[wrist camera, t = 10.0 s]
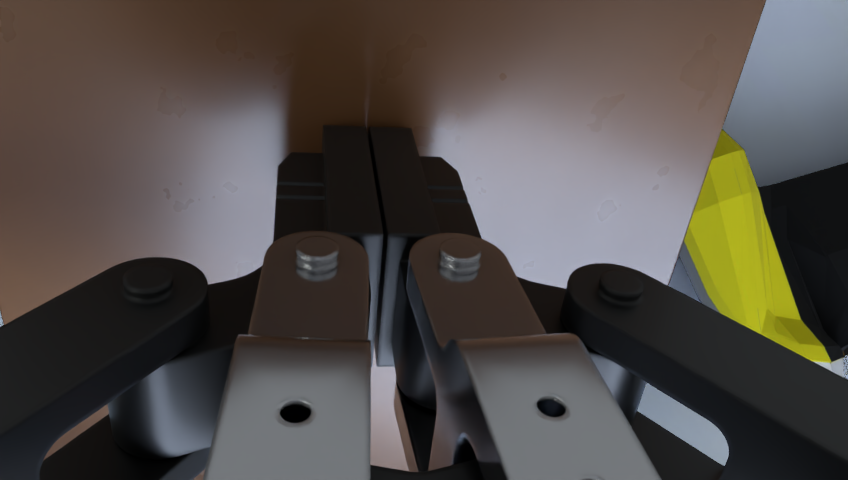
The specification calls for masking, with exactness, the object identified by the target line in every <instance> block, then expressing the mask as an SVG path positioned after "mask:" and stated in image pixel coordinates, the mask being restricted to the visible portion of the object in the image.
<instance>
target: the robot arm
mask: <svg viewBox="0 0 848 480" xmlns="http://www.w3.org/2000/svg"><path fill="white" fill-rule="evenodd" d="M374 348H375V357H376V365H377V367H395V372H396V384H395V393H394V403H393V405H394V412H395V416H396V420H397V424H398V428H399V432H400V437H401V441H402V445H403V449H404V453H405V457H406V462H407V466H408V470H409V471H403V470H398V469H392V468H386V467H380V466H374V465H370V447H371V367H372V364H373V352H374ZM646 382H647V383H649V384H650V385H652V386H654V387H655V388H657V389H658V390H660V391H662V392H663V393H665V394H667V395H668V396H670V397H672V398H673V399H675V400H676V401H678V402H680V403H681V404H683V405H685V406H686V407H688V408H689V409H691V410H693V411H694V412H696V413H698V414H699V415H701V416H703V417H704V418H706V419H707V420H709V421H710V422H712V423H713V424H714V425H715V426H717V427H718V428H719V430H720V431H721V432H722V433H723V435H724V436H725V438H726V440H727V443H728V446H729V457H728V460H727V462H726V465H725V466H723V465H721V464H719V463H717V462H716V461H714V460H713V459H711V458H710V457H708V456H707V455H705V454H703V453H702V452H700V451H699V450H697V449H696V448H694V447H692V446H691V445H689V444H688V443H686V442H685V441H683V440H682V439H680V438H678V437H677V436H675V435H674V434H672V433H671V432H669V431H668V430H666V429H664V428H663V427H661V426H660V425H658V424H657V423H655V422H653V421H652V420H650V419H649V418H647V417H646V416H644V415H643V414H641V413H639V412H638V411H637V409H638V406H639V403H640V400H641V397H642V394H643V391H644V388H645V385H646ZM107 404H108V410H109V414H108V415H106V416H105V417H104V418H102V419H101V420H99V421H98V422H97V423H95V424H94V425H92V426H91V427H90V428H88V429H87V430H85V431H84V432H83V433H81V434H80V435H78V436H77V437H76V438H74V439H73V440H71V441H70V442H69V443H67V444H66V445H64V446H63V447H62V448H60V449H59V450H57V451H56V452H55V453H53V454H52V455H50V456H49V457H48V458H46V459H45V460H44V458H45V456H46V454H47V452H48V451H49V449H50V448H51V447H52V446H53V444H54V443H55V442H56V441H57V440H58V439H59V438H60V437H62V436H63V435H64V434H65V433H67V432H68V431H70V430H71V429H72V428H74V427H75V426H77V425H78V424H80V423H81V422H82V421H84V420H85V419H87V418H88V417H90V416H91V415H92V414H94V413H95V412H97V411H98V410H100V409H101V408H102V407H104V406H105V405H107ZM204 469H205V472H204V476H203V480H848V380H847V379H845V378H843V377H841V376H840V375H838V374H836V373H834V372H832V371H830V370H828V369H826V368H824V367H822V366H820V365H819V364H817V363H815V362H813V361H811V360H809V359H807V358H805V357H803V356H801V355H799V354H797V353H796V352H794V351H792V350H790V349H788V348H786V347H784V346H782V345H780V344H778V343H776V342H775V341H773V340H771V339H769V338H767V337H765V336H763V335H761V334H759V333H757V332H755V331H753V330H752V329H750V328H748V327H746V326H744V325H742V324H740V323H738V322H736V321H734V320H732V319H731V318H729V317H727V316H725V315H723V314H721V313H719V312H717V311H715V310H713V309H711V308H709V307H708V306H706V305H704V304H702V303H700V302H698V301H696V300H694V299H692V298H690V297H688V296H687V295H685V294H683V293H681V292H679V291H677V290H675V289H673V288H671V287H669V286H667V285H666V284H664V283H662V282H660V281H658V280H656V279H654V278H652V277H650V276H648V275H646V274H644V273H642V272H640V271H638V270H635V269H632V268H629V267H626V266H622V265H616V264H608V263H595V264H588V265H585V266H582V267H580V268H577V269H576V270H575V271H573V272H572V273H571V275H570V276H569V279H568V282H567V287H566V289H565V288H560V287H555V286H551V285H546V284H541V283H536V282H532V281H528V280H525V279H522V278H520V277H517V276H516V274H515V272H514V270H513V269H512V267H511V265H510V263H509V261H508V259H507V257H506V256H505V254H504V253H503V252H502V251H501V250H500V249H499V248H498V247H496V246H495V245H494V244H492V243H490V242H488V241H486V240H484V239H482V238H481V235H480V232H479V229H478V226H477V224H476V221H475V218H474V215H473V212H472V210H471V207H470V204H469V203H468V199H467V196H466V193H465V190H463V185H462V182H461V179H460V176H459V173H458V171H457V170H456V169H455V168H453V167H452V166H451V165H450V164H449V163H447V162H446V161H445V160H444V159H443V158H442V157H432V156H419V153H418V150H417V146H416V143H415V139H414V135H413V132H412V129H411V128H395V127H369V128H368V133H367V129H366V126H340V125H323V135H322V153H307V152H291V153H290V154H289V155H288V156H287V157H286V158H285V159H284V160H283V161H282V162H281V163H280V164H279V165H278V172H277V188H276V204H275V220H274V236H273V243H272V244H271V245H270V246H269V247H268V249H267V250H266V253H265V256H264V261H263V265H262V266H261V267H260V268H258V269H257V270H255V271H253V272H251V273H249V274H247V275H245V276H242V277H239V278H236V279H232V280H228V281H224V282H218V283H213V284H208V282H207V279H206V276H205V275H204V274H203V272H202V271H201V270H200V269H198V268H197V267H196V266H194V265H192V264H190V263H188V262H185V261H182V260H178V259H174V258H166V257H147V258H139V259H134V260H130V261H126V262H123V263H120V264H117V265H115V266H113V267H111V268H109V269H107V270H105V271H103V272H101V273H100V274H98V275H96V276H94V277H92V278H90V279H88V280H87V281H85V282H83V283H81V284H79V285H77V286H75V287H74V288H72V289H70V290H68V291H66V292H64V293H62V294H61V295H59V296H57V297H55V298H53V299H51V300H49V301H48V302H46V303H44V304H42V305H40V306H38V307H37V308H35V309H33V310H31V311H29V312H27V313H25V314H24V315H22V316H20V317H18V318H16V319H14V320H12V321H11V322H9V323H7V324H5V325H3V326H1V327H0V480H193V479H194V478H195V477H196V476H198V475H199V474H200V473H201V472H202V471H203V470H204Z"/></svg>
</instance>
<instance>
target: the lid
mask: <svg viewBox="0 0 848 480" xmlns="http://www.w3.org/2000/svg"><path fill="white" fill-rule="evenodd" d="M765 2H766V0H0V311H1V315H2V319H3V323H4V325H5V324H7V323H9V322H11V321H12V320H14V319H16V318H18V317H20V316H22V315H24V314H25V313H27V312H29V311H31V310H33V309H35V308H37V307H38V306H40V305H42V304H44V303H46V302H48V301H49V300H51V299H53V298H55V297H57V296H59V295H61V294H62V293H64V292H66V291H68V290H70V289H72V288H74V287H75V286H77V285H79V284H81V283H83V282H85V281H87V280H88V279H90V278H92V277H94V276H96V275H98V274H100V273H101V272H103V271H105V270H107V269H109V268H111V267H113V266H115V265H117V264H120V263H123V262H126V261H130V260H134V259H139V258H147V257H166V258H174V259H178V260H182V261H185V262H188V263H190V264H192V265H194V266H196V267H197V268H198V269H200V270H201V271H202V272H203V274H204V275H205V276H206V279H207V282H208V284H213V283H218V282H224V281H228V280H232V279H236V278H239V277H242V276H245V275H247V274H249V273H251V272H253V271H255V270H257V269H258V268H260V267H261V266H262V265H263V261H264V256H265V253H266V250H267V249H268V247H269V246H270V245H271V244H272V243H273V236H274V220H275V204H276V188H277V172H278V165H279V164H280V163H281V162H282V161H283V160H284V159H285V158H286V157H287V156H288V155H289V154H290V153H291V152H307V153H322V135H323V125H340V126H366V129H367V133H368V128H369V127H395V128H411V129H412V132H413V135H414V139H415V143H416V146H417V150H418V153H419V156H432V157H442V158H443V159H444V160H445V161H446V162H447V163H449V164H450V165H451V166H452V167H453V168H455V169H456V170H457V171H458V173H459V176H460V179H461V182H462V185H463V190H465V193H466V196H467V199H468V203H469V204H470V207H471V210H472V212H473V215H474V218H475V221H476V224H477V226H478V229H479V232H480V235H481V238H482V239H484V240H486V241H488V242H490V243H492V244H494V245H495V246H496V247H498V248H499V249H500V250H501V251H502V252H503V253H504V254H505V256H506V257H507V259H508V261H509V263H510V265H511V267H512V269H513V270H514V272H515V274H516V276H517V277H520V278H522V279H525V280H528V281H532V282H536V283H541V284H546V285H551V286H555V287H560V288H565V289H566V287H567V282H568V279H569V276H570V275H571V273H572V272H573V271H575V270H576V269H577V268H580V267H582V266H585V265H588V264H595V263H608V264H616V265H622V266H626V267H629V268H632V269H635V270H638V271H640V272H642V273H644V274H646V275H648V276H650V277H652V278H654V279H656V280H658V281H660V282H662V283H664V284H666V285H667V286H668V285H669V282H670V279H671V277H672V274H673V271H674V268H675V265H676V262H677V259H678V256H679V253H680V250H681V247H682V244H683V241H684V239H685V236H686V233H687V230H688V227H689V224H690V221H691V218H692V215H693V212H694V209H695V206H696V203H697V201H698V198H699V195H700V192H701V189H702V186H703V183H704V180H705V177H706V174H707V171H708V168H709V166H710V163H711V160H712V157H713V154H714V151H715V148H716V145H717V142H718V139H719V136H720V133H721V130H722V128H723V125H724V122H725V119H726V116H727V113H728V110H729V107H730V104H731V101H732V98H733V95H734V93H735V90H736V87H737V84H738V81H739V78H740V75H741V72H742V69H743V66H744V63H745V60H746V57H747V55H748V52H749V49H750V46H751V43H752V40H753V37H754V34H755V31H756V28H757V25H758V22H759V20H760V17H761V14H762V11H763V8H764V5H765ZM395 384H396V372H395V367H377V365H376V357H375V348H374V352H373V364H372V367H371V447H370V465H374V466H380V467H386V468H392V469H398V470H403V471H409V470H408V466H407V462H406V457H405V453H404V449H403V445H402V441H401V437H400V432H399V428H398V424H397V420H396V416H395V412H394V405H393V403H394V393H395ZM108 414H109V410H108V404H107V405H105V406H104V407H102V408H101V409H100V410H98V411H97V412H95V413H94V414H92V415H91V416H90V417H88V418H87V419H85V420H84V421H82V422H81V423H80V424H78V425H77V426H75V427H74V428H72V429H71V430H70V431H68V432H67V433H65V434H64V435H63V436H62V437H60V438H59V439H58V440H57V441H56V442H55V443H54V444H53V446H52V447H51V448H50V449H49V451H48V452H47V454H46V456H45V458H44V460H45V459H46V458H48V457H49V456H50V455H52V454H53V453H55V452H56V451H57V450H59V449H60V448H62V447H63V446H64V445H66V444H67V443H69V442H70V441H71V440H73V439H74V438H76V437H77V436H78V435H80V434H81V433H83V432H84V431H85V430H87V429H88V428H90V427H91V426H92V425H94V424H95V423H97V422H98V421H99V420H101V419H102V418H104V417H105V416H106V415H108ZM204 472H205V469H204V470H203V471H202V472H201V473H200V474H199V475H198V476H196V477H195V478H194V479H193V480H203V476H204Z"/></svg>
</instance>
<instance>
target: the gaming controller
mask: <svg viewBox="0 0 848 480" xmlns="http://www.w3.org/2000/svg"><path fill="white" fill-rule="evenodd" d="M679 256H680V258H681V261H682V263H683V265H684V267H685V270H686V272H687V274H688V276H689V278H690V281H691V283H692V285H693V287H694V289H695V292H696V294H697V296H698V298H699V300H700V301H701V302H702V304H704V305H706V306H708V307H709V308H711V309H713V310H715V311H717V312H719V313H721V314H723V315H725V316H727V317H729V318H731V319H732V320H734V321H736V322H738V323H740V324H742V325H744V326H746V327H748V328H750V329H752V330H753V331H755V332H757V333H759V334H761V335H763V336H765V337H767V338H769V339H771V340H773V341H775V342H776V343H778V344H780V345H782V346H784V347H786V348H788V349H790V350H792V351H794V352H796V353H797V354H799V355H801V356H803V357H805V358H807V359H809V360H811V361H813V362H815V363H817V364H819V365H820V366H822V367H824V368H826V369H828V370H830V371H832V372H834V373H836V374H838V375H840V376H841V377H844V366H843V358H844V357H845V355H848V162H847V163H844V164H841V165H837V166H834V167H831V168H827V169H824V170H820V171H817V172H814V173H810V174H807V175H803V176H800V177H797V178H793V179H790V180H787V181H783V182H780V183H776V184H773V185H769V186H764V187H758V186H757V184H756V181H755V179H754V176H753V173H752V170H751V168H750V165H749V162H748V159H747V156H746V154H745V151H744V149H743V148H742V147H741V146H740V145H738V144H737V143H736V142H735V141H734V140H733V139H732V138H731V137H730V136H729V135H728V134H727V133H726V132H725V131H724V130H723V129H722V130H721V133H720V136H719V139H718V142H717V145H716V148H715V151H714V154H713V157H712V160H711V163H710V166H709V168H708V171H707V174H706V177H705V180H704V183H703V186H702V189H701V192H700V195H699V198H698V201H697V203H696V206H695V209H694V212H693V215H692V218H691V221H690V224H689V227H688V230H687V233H686V236H685V239H684V241H683V244H682V247H681V250H680V253H679Z"/></svg>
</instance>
